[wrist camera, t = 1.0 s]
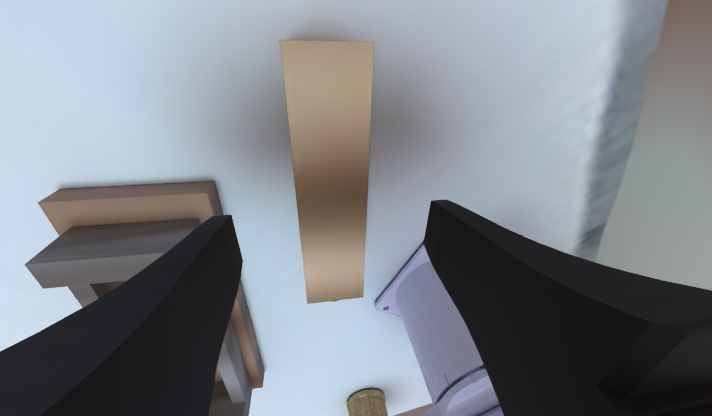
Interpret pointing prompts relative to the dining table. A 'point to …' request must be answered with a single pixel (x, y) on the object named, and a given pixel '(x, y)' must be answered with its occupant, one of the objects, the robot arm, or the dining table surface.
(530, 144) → the dining table surface
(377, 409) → the sprinkles bottle
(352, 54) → the door panel
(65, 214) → the hinge base
